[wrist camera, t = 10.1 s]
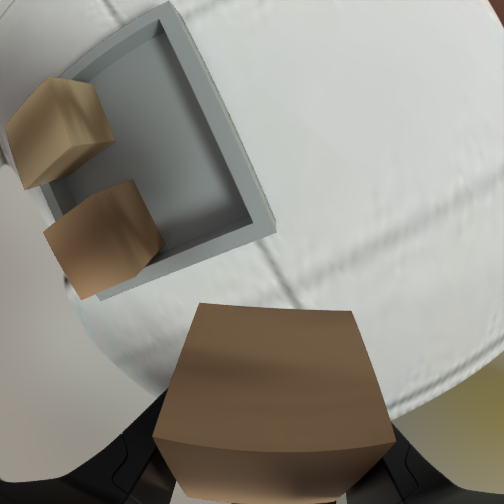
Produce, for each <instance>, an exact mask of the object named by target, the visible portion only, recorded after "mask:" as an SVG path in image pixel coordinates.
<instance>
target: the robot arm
mask: <svg viewBox="0 0 504 504" xmlns="http://www.w3.org/2000/svg"><path fill="white" fill-rule="evenodd" d="M168 388H169V387H168ZM168 388H167V389H166V390H165V391H164V392H163V393H162V394H161V395H160V396H159V397H158V398H157V399H156V400H155V401H154V402H153V403H152V404H151V405H150V406H149V407H148V408H147V409H146V410H145V411H144V412H143V413H142V414H141V415H140V416H139V417H138V418H137V419H136V420H135V421H134V422H133V423H132V424H131V425H130V426H129V427H128V428H126V429H125V430H124V431H123V432H122V434H120V435H119V436H118V437H117V438H116V439H115V440H114V441H113V442H111V443H110V444H109V445H108V446H107V447H106V448H105V449H103V450H102V451H101V452H99V453H98V454H97V455H95V456H94V457H92V458H91V459H90V460H88V461H87V462H85V463H84V464H82V465H81V466H79V467H78V468H77V469H75V470H73V471H72V472H70V473H69V474H67V475H64V476H62V477H59V478H54V479H48V480H39V481H29V482H16V483H14V482H5V481H3V480H2V479H1V478H0V504H169V503H170V501H171V497H172V494H173V490H174V487H175V484H176V479H175V477H174V475H173V474H172V472H171V470H170V469H169V467H168V465H167V463H166V462H165V460H164V458H163V456H162V454H161V453H160V451H159V449H158V447H157V445H156V443H155V441H154V439H153V437H152V436H153V433H154V429H155V426H156V423H157V420H158V417H159V414H160V411H161V409H162V406H163V403H164V400H165V397H166V394H167V391H168ZM391 425H392V428H393V432H394V435H395V438H396V443H395V444H394V445H393V446H392V447H391V448H390V449H389V450H388V451H387V453H386V454H385V455H384V456H383V457H382V458H381V459H380V460H379V461H378V462H377V463H376V464H375V465H374V466H373V467H372V468H371V469H370V470H369V471H368V472H367V473H366V474H365V475H364V476H363V477H362V478H361V479H360V480H359V481H357V482H356V483H355V484H354V485H353V486H352V487H351V488H350V489H348V490H347V491H346V497H347V504H504V494H494V493H486V492H478V491H472V490H466V489H463V488H461V487H458V486H457V485H455V484H454V483H452V482H451V481H450V480H449V479H447V478H446V477H445V476H444V475H443V474H442V473H440V472H439V471H438V470H437V469H435V467H433V466H432V465H431V464H430V463H429V462H428V461H427V460H426V459H425V458H424V457H423V456H422V455H421V454H420V453H419V452H418V451H417V450H416V449H415V448H414V447H413V445H412V444H410V443H409V441H408V440H407V439H406V438H405V437H404V436H403V434H402V433H401V432H400V431H399V430H398V429H397V428H396V427H395V425H394V424H393V423H392V422H391ZM231 504H238V503H231ZM316 504H336V500H335V501H334V502H326V503H316Z"/></svg>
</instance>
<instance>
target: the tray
mask: <svg viewBox="0 0 504 504" xmlns="http://www.w3.org/2000/svg"><path fill="white" fill-rule="evenodd" d="M59 78H62V79H68V80H74V81H79V82H85V83H90V84H94V87H95V90H96V92H97V95H98V98H99V100H100V103H101V105H102V108H103V110H104V113H105V115H106V118H107V120H108V123H109V125H110V128H111V130H112V132H113V135H114V137H115V140H116V142H114V143H113V144H111V145H110V146H108V147H107V148H105V149H104V150H103V151H101V152H100V153H98V154H97V155H96V156H94V157H93V158H92V159H90V160H89V161H88V162H86V163H85V164H84V165H82V166H81V167H80V168H78V169H77V170H76V171H75V172H73V173H72V174H71V175H70V176H67V177H64V178H60V179H57V180H54V181H51V182H48V183H44V184H41V185H40V187H41V189H42V192H43V194H44V196H45V199H46V201H47V203H48V205H49V208H50V210H51V212H52V214H53V216H54V219H55V221H57V220H59V219H60V218H61V217H63V216H64V215H65V214H67V213H68V212H69V211H71V210H72V209H73V208H75V207H76V206H77V205H79V204H80V203H81V202H83V201H84V200H86V199H87V198H89V197H90V196H91V195H93V194H96V193H98V192H100V191H103V190H105V189H108V188H111V187H113V186H116V185H118V184H121V183H124V182H126V181H129V180H132V179H133V180H134V182H135V184H136V186H137V188H138V190H139V192H140V195H141V197H142V199H143V201H144V203H145V205H146V207H147V209H148V211H149V213H150V215H151V217H152V219H153V221H154V222H155V224H156V226H157V228H158V230H159V232H160V234H161V236H162V238H163V240H164V242H165V244H164V246H163V247H162V248H161V249H160V250H159V251H158V252H157V253H156V254H155V256H154V257H153V258H152V259H151V260H150V261H149V262H148V263H147V265H146V266H145V267H144V268H143V269H142V270H141V271H140V273H139V274H138V275H137V276H136V277H134V278H132V279H129V280H127V281H125V282H122V283H120V284H118V285H115V286H113V287H111V288H108V289H106V290H104V291H101V292H99V293H97V294H96V295H97V296H98V298H99V299H100V301H102V300H104V299H107V298H109V297H112V296H114V295H117V294H119V293H122V292H124V291H127V290H129V289H132V288H134V287H137V286H139V285H142V284H144V283H147V282H150V281H152V280H155V279H157V278H160V277H162V276H165V275H167V274H170V273H172V272H175V271H178V270H180V269H183V268H185V267H188V266H190V265H193V264H196V263H198V262H201V261H203V260H206V259H208V258H211V257H214V256H216V255H219V254H221V253H224V252H227V251H229V250H232V249H234V248H237V247H240V246H242V245H245V244H248V243H250V242H253V241H255V240H258V239H261V238H263V237H266V236H268V235H271V234H274V233H276V220H275V218H274V215H273V213H272V210H271V208H270V206H269V203H268V201H267V199H266V196H265V194H264V192H263V189H262V187H261V185H260V182H259V180H258V178H257V175H256V173H255V171H254V168H253V166H252V164H251V162H250V159H249V157H248V155H247V153H246V150H245V148H244V146H243V144H242V141H241V139H240V137H239V135H238V133H237V130H236V128H235V126H234V124H233V122H232V119H231V117H230V115H229V113H228V111H227V109H226V106H225V104H224V102H223V100H222V98H221V96H220V94H219V92H218V89H217V87H216V85H215V83H214V81H213V79H212V77H211V75H210V73H209V71H208V69H207V67H206V65H205V62H204V60H203V58H202V56H201V54H200V52H199V50H198V48H197V46H196V44H195V42H194V40H193V38H192V36H191V34H190V32H189V30H188V29H187V27H186V25H185V23H184V21H183V19H182V17H181V15H180V14H179V12H178V11H177V10H176V9H175V8H174V6H173V5H172V4H171V3H170V1H167V2H165V3H163V4H162V5H160V6H158V7H156V8H154V9H152V10H151V11H149V12H147V13H145V14H144V15H142V16H140V17H138V18H137V19H135V20H134V21H132V22H130V23H129V24H127V25H126V26H124V27H122V28H121V29H119V30H118V31H116V32H115V33H114V34H112V35H111V36H109V37H108V38H106V39H105V40H104V41H102V42H101V43H100V44H98V45H97V46H96V47H94V48H93V49H92V50H90V51H89V52H88V53H86V54H85V55H84V56H83V57H82V58H80V59H79V60H78V61H77V62H76V63H74V64H73V65H72V66H71V67H70V68H69V69H67V70H66V71H65V72H64V73H63V74H62V75H61V76H60V77H59Z"/></svg>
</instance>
